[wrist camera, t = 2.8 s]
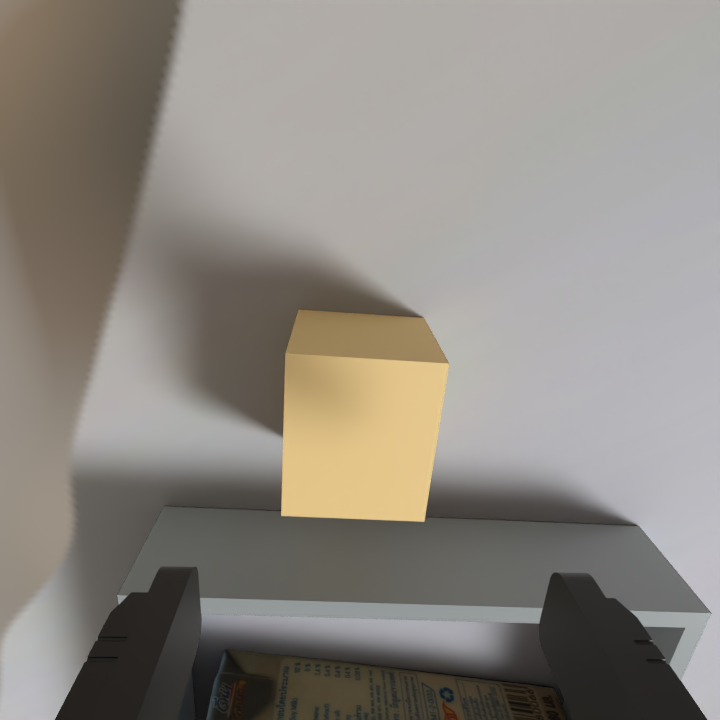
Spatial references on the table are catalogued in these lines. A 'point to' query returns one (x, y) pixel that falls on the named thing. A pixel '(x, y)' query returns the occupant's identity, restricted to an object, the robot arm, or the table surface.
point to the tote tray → (413, 571)
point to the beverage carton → (364, 693)
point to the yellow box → (360, 416)
